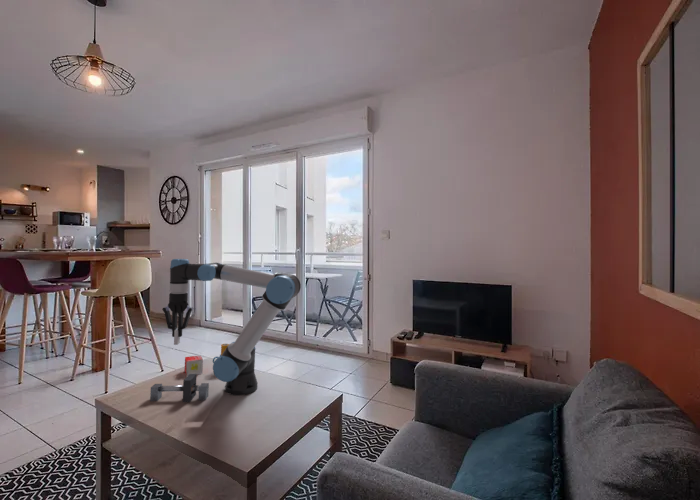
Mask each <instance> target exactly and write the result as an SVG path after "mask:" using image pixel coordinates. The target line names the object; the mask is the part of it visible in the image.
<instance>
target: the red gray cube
mask: <svg viewBox="0 0 700 500" xmlns="http://www.w3.org/2000/svg"><path fill="white" fill-rule="evenodd" d="M203 365H204V359H203V357H202V355H200V354H199V355H191V356H190V355H189V356H185V357H184V373H185V374H184V375H185V377H187V376H188V375H189V374H197V375H202V374H203V367H204V366H203Z"/></svg>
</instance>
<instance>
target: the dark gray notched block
mask: <svg viewBox="0 0 700 500" xmlns="http://www.w3.org/2000/svg"><path fill="white" fill-rule="evenodd" d="M197 376H198V374H189V375H188V376H185V378H184V380H183V384H182V385H183V391H182V403H191V402H192V400H193V399H194V398H195V396H196V395H197V391H192V386H193V385H197Z"/></svg>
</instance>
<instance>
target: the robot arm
mask: <svg viewBox="0 0 700 500" xmlns="http://www.w3.org/2000/svg"><path fill="white" fill-rule="evenodd" d="M169 267H170V268H169V290H168V291H169V292H170V293H169V295H168V297H169V298H168V304H167V306H164V307H162V311H163V313H164V316H165V322H166V326H167V329H170V330H171V334H172V335H171V336H172V338H173V345H175V346H176V345H177V346H178V345H179V344H180V343H181V337H182V336H183V330H184V329H186V328H187V327H188V324H189V322H190V317H191V315H192V314H191V313H192V312H193V311H194V307H193V306H192V307H191V306H190V305H189V302H188V301H189V300H188V299H189V297H188V294H189V293H188V291H189V281H200V282H208V281H209V282H211V281H213V279H215V280H220V281H226V282H232V283H237V284H243V285H247V286H252V287H257V288H261V289H262V288H263V289H265V291H264V292H263V294H262V296H261V297H262V302H261V303H260V304H259V306H258V307H257V309H256V310H255V312H254V313H253V315H252V316H251V318H250V319H249V321H248V322H247V323H246V325H245V326H244V327H243V330H242V331H241V332H240V334H238V336H237V338H236V340H235V341H231V343H228V344H229V345H228V347H227V348H226V349H225V351H224V352H223V354H222V355H221V356H220V355H219V356H217V357H218V358H215V359H214V363H213V365H212V371H213V374H214V376H215V378H216V379H218V380H219V381H221V382H225V387H224V391H225V392H226V393H227V395H228V394H229V395H232V396H242V395H244V396H245V395H248V394H251V393H253V392H255V391H257V389H258V380H257V377H256V373H255V367H256V365H255V363H256V362H255V361H256V349H257V348H256V345H257V344H258V343H259V341H260V339H261V338H262V337H263V336H264V334H265V332H266V331H267V330H268V328H269V327H270V325H271V324H272V322H273V321H274V319H275V318H276V316H277V315H278V314H279V312H280V311H285V309H286V308H287V306H288V305H289V303H290V302H291V300H292V299H293V298H294V297H296V296H297V295H299V293H300V291H301V287H302V286H301V285H302V284H301V281H300V279H299V278H298V277H297V275H294V274H293V273H282V272H275V273H271V272H265V271H260V270H254V269H249V268H244V267H237V266H232V265H226V264H223V263H221V262H211V263H190V260H189V259H188V258H172V259H171V260H170V265H169ZM170 311H171V312H170ZM185 311H186V313H185ZM184 313H185V317H184ZM171 315H172V317H171Z"/></svg>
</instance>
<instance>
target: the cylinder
mask: <svg viewBox="0 0 700 500" xmlns="http://www.w3.org/2000/svg"><path fill="white" fill-rule="evenodd" d="M229 344H230V343H221V344H220V345H221V346H220V354H219V356H215V357H213V358H212V363H213V364H214V362H215V360H216V359H217V358H218V357H220V356H221V355H222V354H223V352H224V351H225V349H226V348H227V347H228V345H229Z"/></svg>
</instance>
